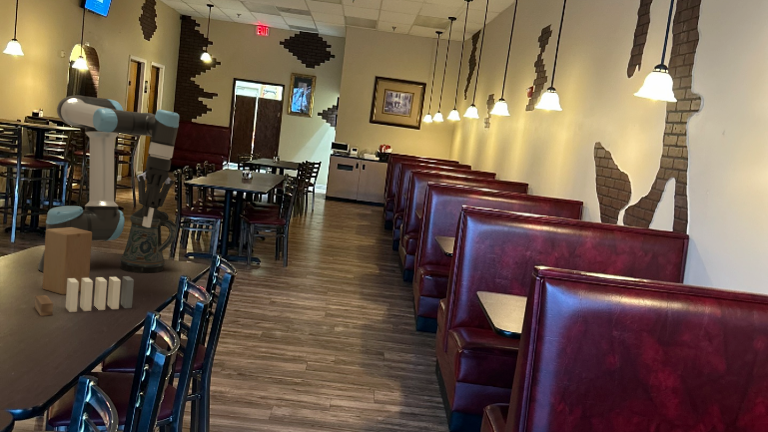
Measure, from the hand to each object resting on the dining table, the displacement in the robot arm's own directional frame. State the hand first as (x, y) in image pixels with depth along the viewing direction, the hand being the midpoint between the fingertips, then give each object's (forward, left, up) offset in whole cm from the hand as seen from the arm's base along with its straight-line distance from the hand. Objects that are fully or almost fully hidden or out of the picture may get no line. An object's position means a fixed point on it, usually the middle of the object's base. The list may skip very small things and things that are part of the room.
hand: (146, 226), depth 216 cm
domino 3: (+6, -19, -24) cm, 31 cm away
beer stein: (-31, +26, -24) cm, 47 cm away
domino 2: (+4, -23, -24) cm, 33 cm away
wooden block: (-18, -16, -24) cm, 34 cm away
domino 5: (+8, -12, -24) cm, 28 cm away
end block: (0, -34, -24) cm, 41 cm away
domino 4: (+7, -16, -24) cm, 29 cm away
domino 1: (+3, -27, -24) cm, 36 cm away
